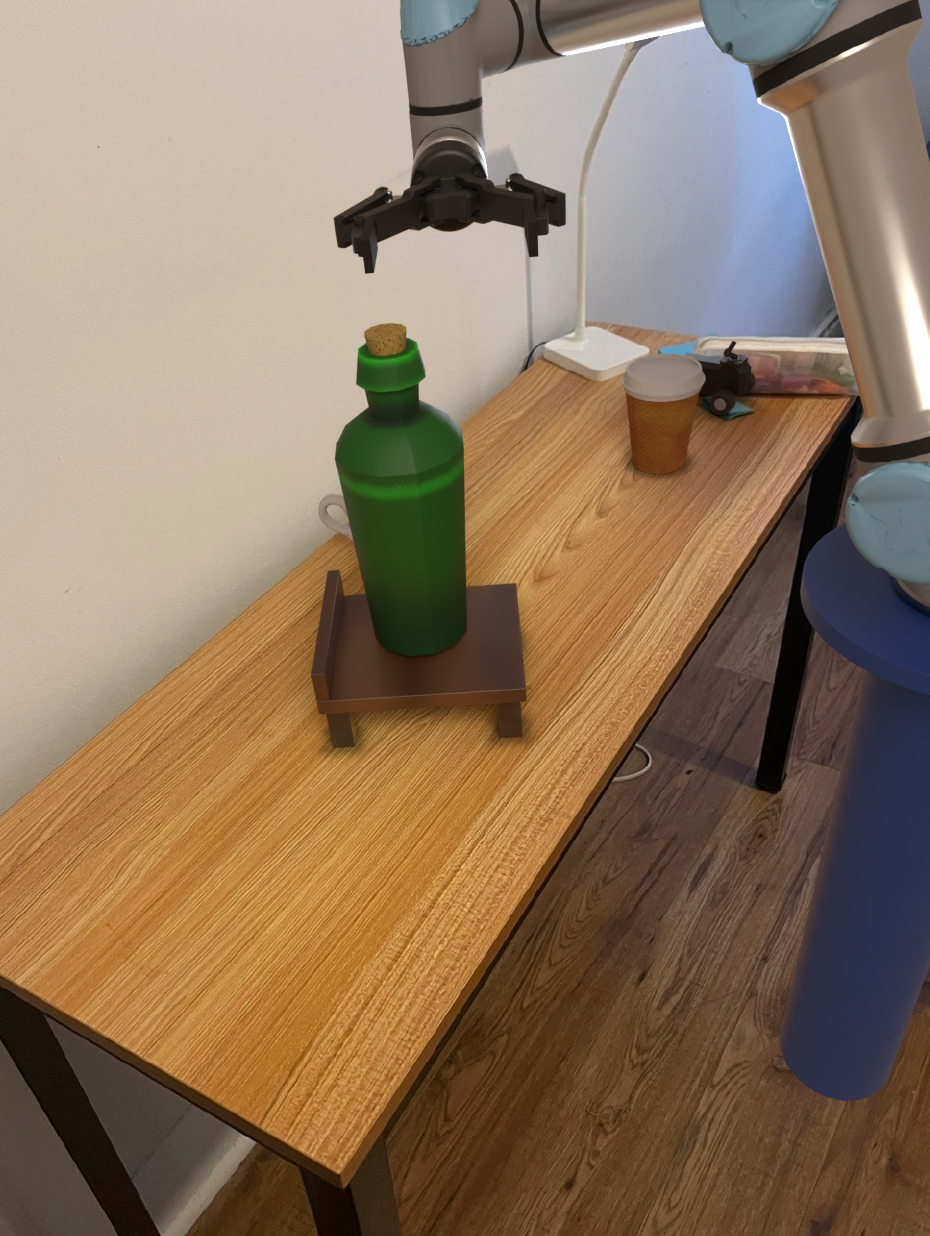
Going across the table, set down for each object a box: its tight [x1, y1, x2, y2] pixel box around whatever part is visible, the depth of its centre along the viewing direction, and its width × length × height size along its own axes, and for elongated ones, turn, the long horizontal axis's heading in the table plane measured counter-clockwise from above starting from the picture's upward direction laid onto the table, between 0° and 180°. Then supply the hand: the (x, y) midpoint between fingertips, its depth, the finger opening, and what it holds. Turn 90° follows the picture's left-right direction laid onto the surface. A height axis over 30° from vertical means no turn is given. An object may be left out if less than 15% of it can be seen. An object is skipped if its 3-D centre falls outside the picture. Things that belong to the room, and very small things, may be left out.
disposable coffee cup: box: [621, 353, 705, 475], centre depth 122 cm, size 10×10×12 cm
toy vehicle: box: [683, 340, 757, 416], centre depth 135 cm, size 8×15×9 cm, turn 53°
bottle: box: [334, 322, 467, 656], centre depth 85 cm, size 11×11×28 cm
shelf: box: [310, 569, 528, 749], centre depth 94 cm, size 18×16×9 cm
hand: (449, 248), depth 83 cm, fingers open, 13 cm apart
